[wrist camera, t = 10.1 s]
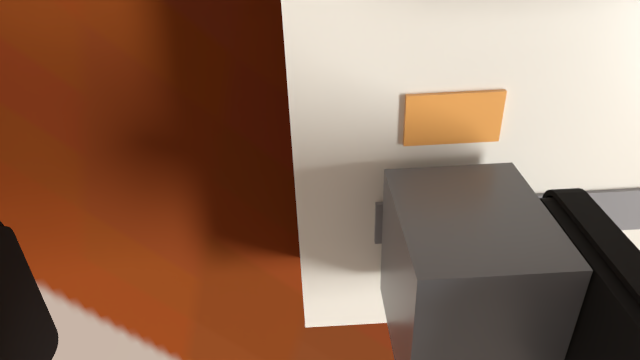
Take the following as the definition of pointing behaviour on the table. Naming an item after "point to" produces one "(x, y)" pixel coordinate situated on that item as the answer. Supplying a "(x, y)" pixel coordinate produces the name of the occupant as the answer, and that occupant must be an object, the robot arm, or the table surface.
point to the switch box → (449, 116)
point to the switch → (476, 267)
